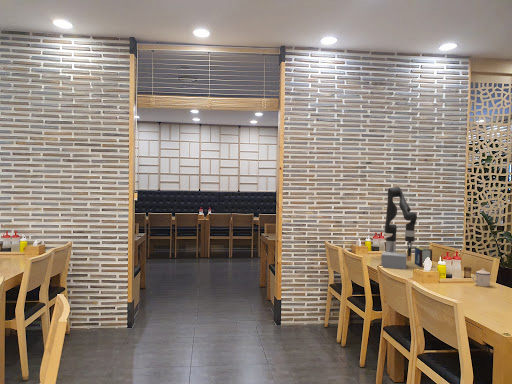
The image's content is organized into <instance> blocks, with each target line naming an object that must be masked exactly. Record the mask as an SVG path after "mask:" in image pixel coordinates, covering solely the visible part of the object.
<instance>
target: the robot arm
mask: <svg viewBox="0 0 512 384" xmlns="http://www.w3.org/2000/svg"><path fill="white" fill-rule="evenodd" d="M398 197H399V204H398V206H399V209H400V210H401V212H402V215H403V216H402V217H403V220H405V221H407V222H408V223H406V224H405V232H404V233H405V234H404V236H405V237H404V241H405V242H407V250H408V256H411V257H412V249H413V242H415V237H416V236H415V234H416V233H415V229H416V228H415V227H416V223H417V220H418V219H417V218H418V214H417V213H416V212H413V211H412V212H411V207H410V206H409V204H408V203H407V200H406V198H405V195H404V193H403V191H402V189H401V187H399V186H393V187H389V188H388V189H387V206H386V213H385V214H386V217H385V224H384V233H385V234H390V236H386V238H385V252H395V253H397V252H396V251H397V250H396V249H397V229H398V228H397V227H398V226H397V224H395V223H391V222H392V221H393V220H394V219H395V218H396V217H397V215H398V207H397V205H396V204H395V202H394V201H393V199H394V198H398ZM391 234H392V235H391Z"/></svg>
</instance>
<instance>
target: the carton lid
mask: <svg viewBox="0 0 512 384" xmlns="http://www.w3.org/2000/svg"><path fill="white" fill-rule="evenodd" d="M382 256H395V257H407V261H406V262H408V261H409V262H411V261H412V255H411V256H408V249H407V250H406V253H405V252H396V253H395V252H386V251H382V252H381V257H382Z"/></svg>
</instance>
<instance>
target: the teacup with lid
mask: <svg viewBox="0 0 512 384" xmlns="http://www.w3.org/2000/svg"><path fill="white" fill-rule="evenodd" d="M471 279H472V281H474V282H475V285H476V286H479V287H487V288H488V287H490V286H491V272H489V271H487V270H485V268H481V269H480V270H477V271H475V274H473V275H472V277H471Z"/></svg>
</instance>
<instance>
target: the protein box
mask: <svg viewBox="0 0 512 384" xmlns="http://www.w3.org/2000/svg"><path fill="white" fill-rule="evenodd" d="M427 257H429V258H430V260H431V261H432V262H433V249H432V248H429V247H426V246H425V247H424V246H415V247H414V265H416V266H417V267H418V268H419V267H420V268H424V267H423V263H424V261H425V259H426V258H427Z"/></svg>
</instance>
